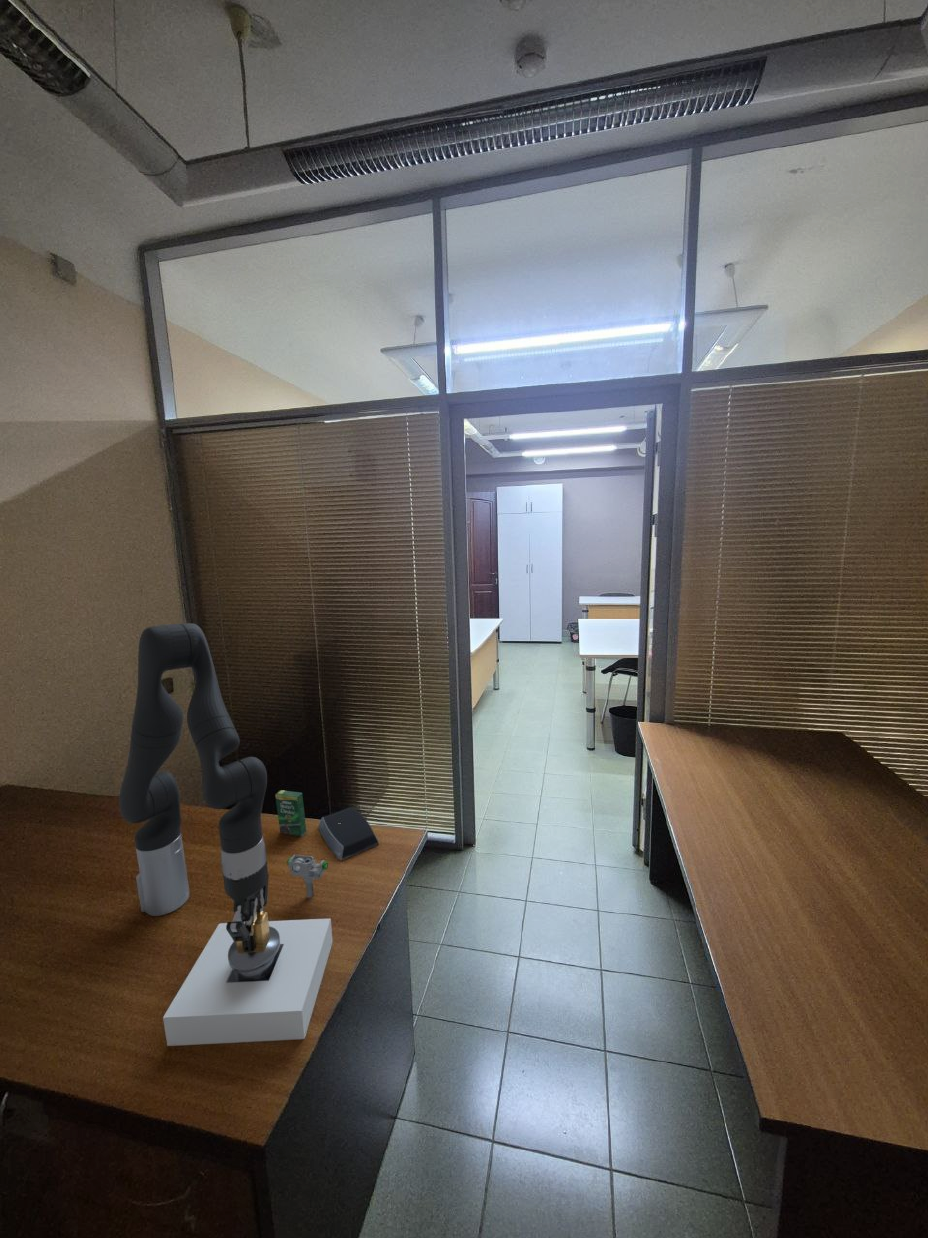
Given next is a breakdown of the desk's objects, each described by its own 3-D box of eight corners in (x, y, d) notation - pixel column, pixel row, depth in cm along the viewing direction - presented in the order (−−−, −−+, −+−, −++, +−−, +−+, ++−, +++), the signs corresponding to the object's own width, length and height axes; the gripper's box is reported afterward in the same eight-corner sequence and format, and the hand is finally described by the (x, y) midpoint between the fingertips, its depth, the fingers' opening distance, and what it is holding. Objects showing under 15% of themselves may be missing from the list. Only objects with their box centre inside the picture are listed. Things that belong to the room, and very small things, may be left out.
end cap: (222, 997, 86) (214, 940, 84) (244, 953, 95) (237, 901, 93) (272, 994, 86) (265, 937, 84) (288, 951, 96) (283, 899, 93)
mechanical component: (326, 903, 113) (323, 866, 111) (288, 897, 115) (284, 861, 113) (332, 894, 116) (329, 858, 114) (295, 888, 118) (291, 853, 116)
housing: (167, 1046, 81) (162, 1017, 80) (222, 947, 101) (219, 923, 100) (304, 1039, 82) (301, 1010, 81) (332, 942, 102) (330, 918, 101)
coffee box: (278, 833, 140) (274, 793, 138) (284, 827, 143) (280, 788, 141) (301, 837, 138) (297, 797, 136) (306, 832, 141) (303, 792, 138)
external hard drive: (338, 863, 127) (337, 850, 126) (316, 828, 143) (315, 816, 142) (381, 845, 135) (380, 832, 134) (356, 814, 150) (355, 802, 150)
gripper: (241, 839, 94) (249, 914, 96) (204, 891, 80) (216, 977, 83) (278, 838, 94) (285, 912, 97) (248, 890, 80) (258, 975, 83)
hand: (253, 941), depth 90 cm, fingers closed on end cap, 3 cm apart
